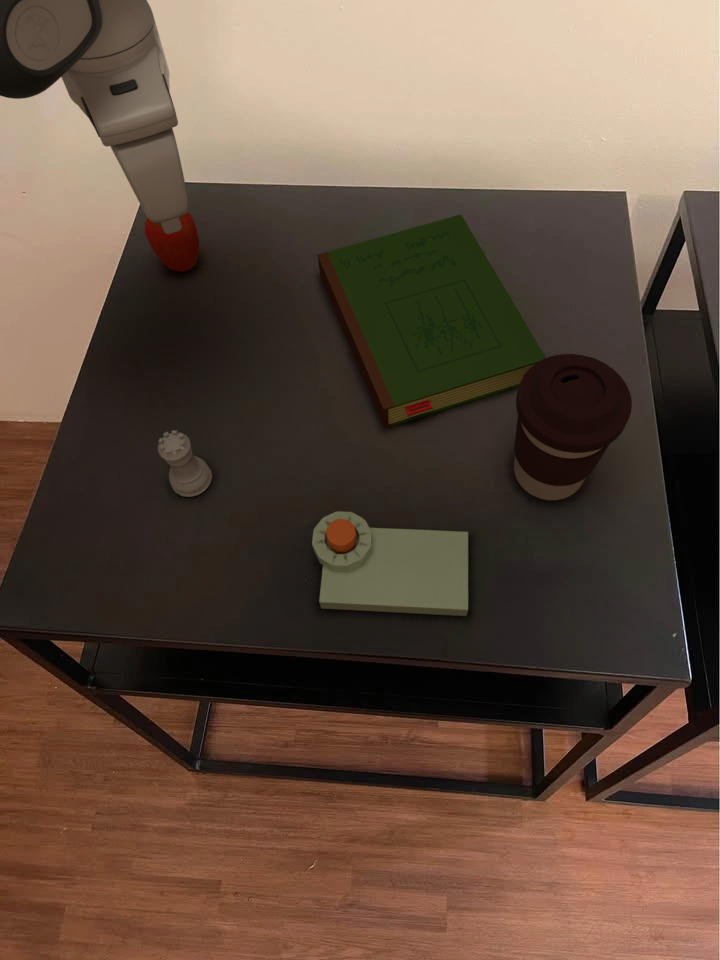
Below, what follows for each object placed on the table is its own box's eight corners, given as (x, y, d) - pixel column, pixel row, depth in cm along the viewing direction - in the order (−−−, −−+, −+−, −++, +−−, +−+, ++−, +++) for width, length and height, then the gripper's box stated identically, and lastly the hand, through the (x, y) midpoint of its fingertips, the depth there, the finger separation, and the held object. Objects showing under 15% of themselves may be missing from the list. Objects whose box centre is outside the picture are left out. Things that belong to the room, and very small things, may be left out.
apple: (155, 252, 94) (136, 206, 88) (200, 240, 95) (185, 193, 88) (163, 286, 91) (144, 240, 85) (210, 273, 92) (195, 227, 85)
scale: (310, 608, 69) (305, 595, 66) (319, 525, 74) (315, 510, 71) (466, 616, 68) (469, 604, 65) (466, 531, 72) (469, 516, 69)
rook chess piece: (219, 468, 78) (201, 428, 71) (202, 503, 76) (181, 465, 69) (182, 458, 78) (161, 417, 71) (164, 492, 77) (140, 454, 70)
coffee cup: (590, 523, 72) (631, 445, 59) (492, 502, 74) (511, 421, 61) (601, 442, 77) (642, 352, 64) (509, 423, 78) (530, 333, 65)
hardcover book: (320, 277, 90) (317, 254, 87) (458, 237, 92) (461, 214, 89) (386, 434, 79) (386, 414, 75) (543, 384, 81) (549, 364, 77)
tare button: (326, 552, 69) (324, 544, 67) (329, 525, 70) (327, 517, 69) (355, 553, 69) (354, 546, 67) (357, 526, 70) (356, 519, 68)
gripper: (53, 11, 65) (107, 147, 77) (101, 142, 55) (154, 274, 68) (121, -7, 66) (164, 130, 78) (179, 119, 56) (218, 253, 69)
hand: (160, 198), depth 73 cm, fingers open, 8 cm apart
